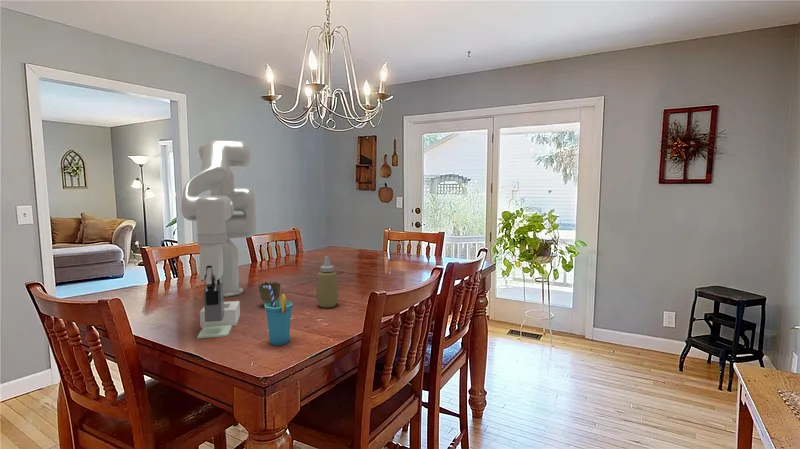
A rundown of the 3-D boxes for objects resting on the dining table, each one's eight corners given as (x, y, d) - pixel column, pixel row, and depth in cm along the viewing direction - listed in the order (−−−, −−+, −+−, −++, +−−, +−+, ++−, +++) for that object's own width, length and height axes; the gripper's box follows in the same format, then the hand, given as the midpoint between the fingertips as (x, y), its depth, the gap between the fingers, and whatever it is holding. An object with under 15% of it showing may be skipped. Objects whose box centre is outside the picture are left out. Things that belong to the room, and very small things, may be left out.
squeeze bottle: (311, 305, 149) (310, 256, 147) (329, 301, 155) (329, 253, 153) (325, 310, 144) (324, 259, 142) (343, 305, 150) (343, 256, 148)
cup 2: (274, 309, 145) (274, 286, 144) (255, 307, 146) (254, 285, 146) (284, 303, 152) (284, 281, 151) (266, 302, 154) (265, 280, 153)
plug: (208, 317, 123) (207, 284, 122) (224, 316, 124) (223, 283, 123) (204, 321, 118) (204, 287, 118) (221, 320, 120) (220, 286, 119)
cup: (252, 337, 118) (251, 285, 116) (277, 331, 123) (276, 281, 122) (277, 351, 108) (276, 295, 106) (303, 343, 113) (302, 289, 112)
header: (207, 317, 135) (206, 302, 135) (240, 315, 137) (239, 300, 137) (200, 328, 125) (199, 312, 125) (235, 325, 128) (235, 309, 127)
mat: (203, 329, 125) (203, 327, 125) (231, 326, 127) (231, 325, 126) (197, 338, 117) (197, 336, 117) (227, 336, 119) (227, 334, 119)
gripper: (203, 237, 126) (206, 295, 128) (190, 244, 110) (193, 311, 112) (230, 236, 128) (232, 294, 130) (220, 243, 112) (223, 309, 113)
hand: (214, 301), depth 121 cm, fingers closed on plug, 4 cm apart
